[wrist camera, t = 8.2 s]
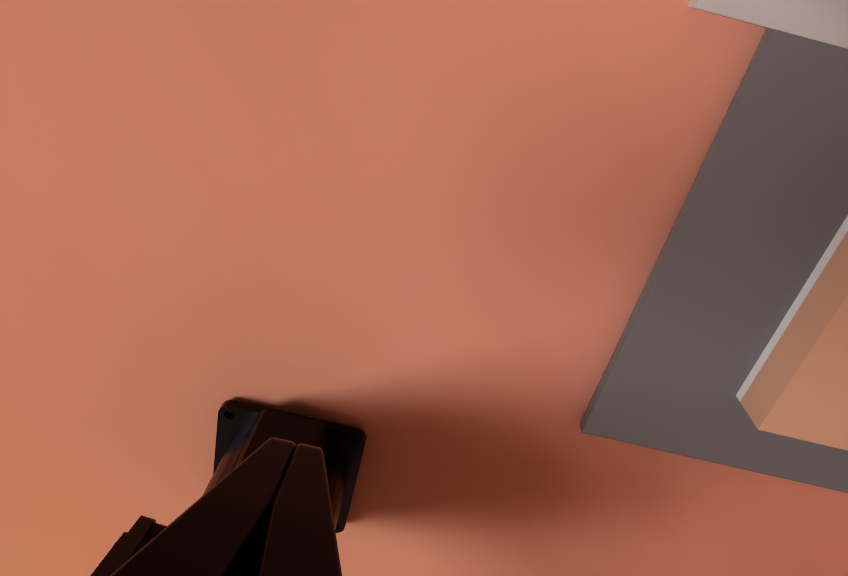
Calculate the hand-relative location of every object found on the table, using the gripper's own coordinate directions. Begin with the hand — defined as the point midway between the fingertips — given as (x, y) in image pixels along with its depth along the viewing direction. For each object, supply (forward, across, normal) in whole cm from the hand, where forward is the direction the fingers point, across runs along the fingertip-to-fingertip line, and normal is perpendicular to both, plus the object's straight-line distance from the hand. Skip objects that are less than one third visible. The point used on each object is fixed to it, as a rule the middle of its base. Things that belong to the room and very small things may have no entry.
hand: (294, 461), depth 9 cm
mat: (+13, -18, 0) cm, 22 cm away
